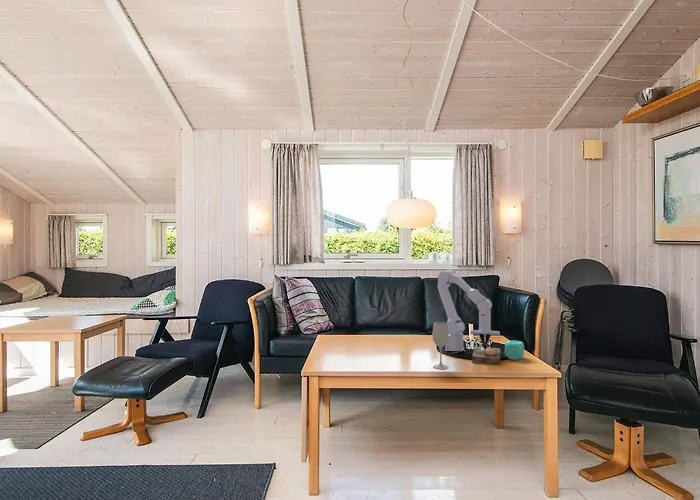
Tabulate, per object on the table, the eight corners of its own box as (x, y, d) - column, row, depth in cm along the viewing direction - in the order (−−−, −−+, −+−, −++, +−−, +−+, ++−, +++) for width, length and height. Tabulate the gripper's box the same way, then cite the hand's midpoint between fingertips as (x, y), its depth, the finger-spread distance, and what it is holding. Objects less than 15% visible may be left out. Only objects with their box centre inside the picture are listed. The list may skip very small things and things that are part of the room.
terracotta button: (485, 356, 220) (485, 350, 220) (486, 354, 224) (486, 348, 224) (495, 357, 219) (495, 351, 219) (495, 354, 223) (495, 349, 223)
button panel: (472, 362, 219) (472, 356, 219) (474, 352, 239) (474, 346, 239) (500, 364, 215) (500, 358, 215) (500, 354, 235) (500, 348, 235)
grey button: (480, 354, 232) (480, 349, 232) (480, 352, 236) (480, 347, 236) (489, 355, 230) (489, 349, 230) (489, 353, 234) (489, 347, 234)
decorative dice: (524, 357, 228) (524, 341, 228) (521, 360, 222) (521, 344, 222) (507, 355, 233) (507, 339, 232) (504, 358, 226) (504, 342, 226)
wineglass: (443, 364, 217) (442, 320, 216) (452, 368, 210) (451, 323, 209) (429, 366, 214) (429, 322, 214) (438, 370, 207) (437, 324, 206)
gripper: (469, 323, 231) (470, 349, 232) (499, 324, 227) (499, 351, 227) (470, 321, 238) (471, 346, 238) (499, 322, 233) (499, 348, 234)
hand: (485, 348), depth 233 cm, fingers closed, pressing on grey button
